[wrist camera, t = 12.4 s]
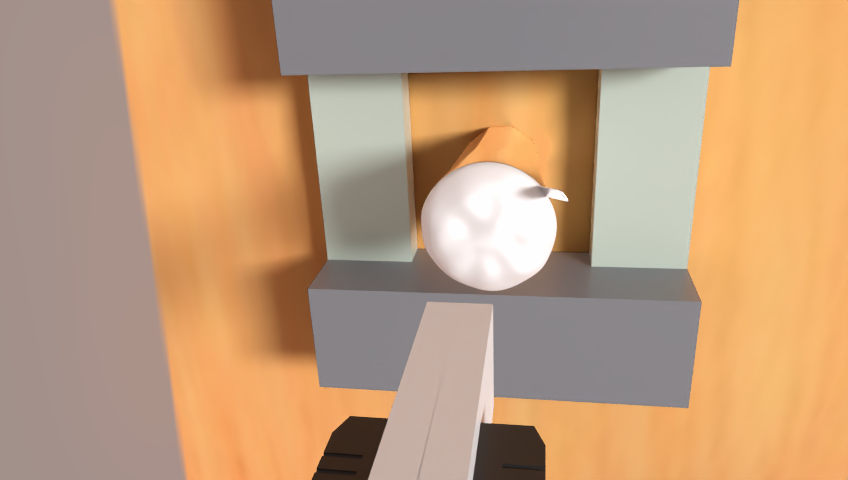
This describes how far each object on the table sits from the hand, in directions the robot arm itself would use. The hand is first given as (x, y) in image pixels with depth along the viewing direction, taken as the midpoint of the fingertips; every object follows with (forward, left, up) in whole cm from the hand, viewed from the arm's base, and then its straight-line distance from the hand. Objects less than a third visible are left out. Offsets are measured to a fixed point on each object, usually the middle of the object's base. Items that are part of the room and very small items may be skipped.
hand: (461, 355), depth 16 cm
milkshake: (0, 0, -16) cm, 16 cm away
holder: (0, 0, -16) cm, 16 cm away
